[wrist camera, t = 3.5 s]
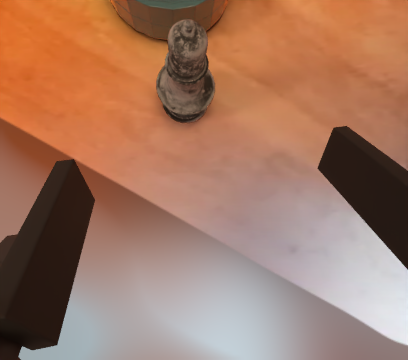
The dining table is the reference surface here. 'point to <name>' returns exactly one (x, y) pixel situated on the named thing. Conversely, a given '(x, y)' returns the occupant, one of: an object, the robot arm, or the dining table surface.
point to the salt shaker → (186, 73)
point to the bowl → (167, 14)
